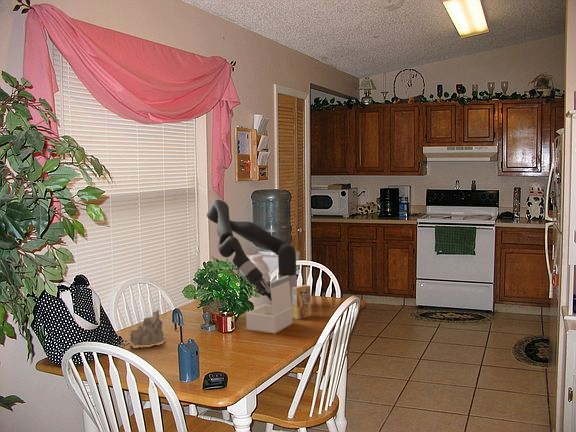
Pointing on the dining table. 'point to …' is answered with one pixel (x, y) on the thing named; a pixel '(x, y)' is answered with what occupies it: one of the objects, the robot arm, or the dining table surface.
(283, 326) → the box
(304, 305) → the candy box
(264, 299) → the bottle
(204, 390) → the dining table surface
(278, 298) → the lid
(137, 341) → the grey rock
